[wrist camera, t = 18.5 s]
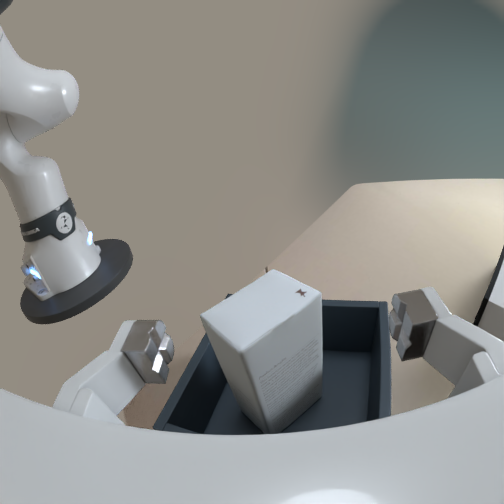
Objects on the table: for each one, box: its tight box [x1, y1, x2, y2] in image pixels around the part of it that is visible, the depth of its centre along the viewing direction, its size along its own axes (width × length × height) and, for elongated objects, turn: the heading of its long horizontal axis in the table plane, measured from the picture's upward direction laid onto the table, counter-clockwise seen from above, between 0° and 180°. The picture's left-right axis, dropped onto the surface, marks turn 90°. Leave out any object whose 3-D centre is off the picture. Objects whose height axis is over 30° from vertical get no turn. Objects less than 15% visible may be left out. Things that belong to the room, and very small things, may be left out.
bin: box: [153, 294, 391, 435], centre depth 20 cm, size 15×15×7 cm
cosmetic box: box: [200, 269, 323, 434], centre depth 19 cm, size 6×4×12 cm
